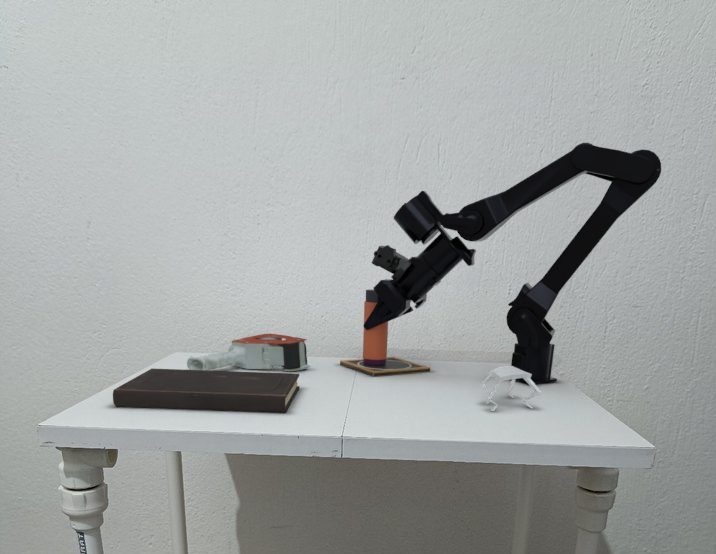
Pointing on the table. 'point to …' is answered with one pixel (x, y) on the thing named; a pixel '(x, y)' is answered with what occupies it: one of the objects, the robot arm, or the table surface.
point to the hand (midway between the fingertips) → (368, 326)
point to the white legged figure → (509, 374)
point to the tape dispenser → (257, 354)
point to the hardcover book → (209, 390)
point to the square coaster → (386, 367)
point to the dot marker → (374, 335)
